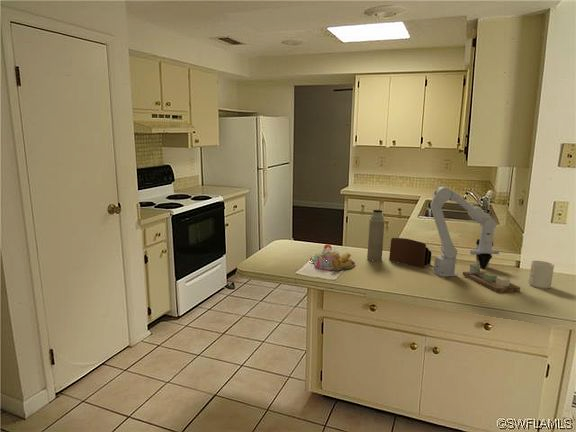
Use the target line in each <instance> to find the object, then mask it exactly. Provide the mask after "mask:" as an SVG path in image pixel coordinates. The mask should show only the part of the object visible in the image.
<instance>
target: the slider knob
mask: <svg viewBox="0 0 576 432" xmlns="http://www.w3.org/2000/svg"><path fill="white" fill-rule="evenodd" d="M480 271H481V268H480V266H479V265H476V263H472V264H471V263H470V267H469V272H471V273H473V274H480Z"/></svg>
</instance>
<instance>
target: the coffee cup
mask: <svg viewBox="0 0 576 432" xmlns="http://www.w3.org/2000/svg"><path fill="white" fill-rule="evenodd" d="M479 241H480V238H478V239H476V242H475V244H476V247H475V250H476V249H479ZM492 247H494V242H493V243H492ZM490 255H492V254H490ZM475 259H476V260H475V264H476V265H479V266H480V262H479V259H478V257H477V254H475ZM490 261H491V259H490V260H489V262H488V264H487V266H486V269H488V268H489V265H490Z"/></svg>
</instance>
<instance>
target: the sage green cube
mask: <svg viewBox="0 0 576 432" xmlns="http://www.w3.org/2000/svg"><path fill="white" fill-rule="evenodd" d="M496 277H498V275H496V274H494V273H491V272H490V273H489V272H487V273H485V274H484V279H486V280H488V281H496Z"/></svg>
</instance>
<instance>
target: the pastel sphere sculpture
mask: <svg viewBox="0 0 576 432" xmlns="http://www.w3.org/2000/svg"><path fill="white" fill-rule="evenodd" d="M351 256H352V255H351V253H349V252H345V253H343V254H342V255H340V252H339V251H336V250H334V249H333V248H332V246H331V244H328V243H326V244H325V245H324V246H323V249H322V251H321V252H320V253H315V255H313V258H312V257H310V258H309V261H311V260H312V261H311V262H313V263H314V264H315V265H314V264H313V265H314V268H317V267H319V268H318V269H320V270H321V269H322V270H326V271H335V272H336V271H341V270H346V269H347V270H348V269H352V268H354V266H356V263H355V262H354V260H352V259H351V258H350V257H351ZM326 260H327V261H326Z"/></svg>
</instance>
